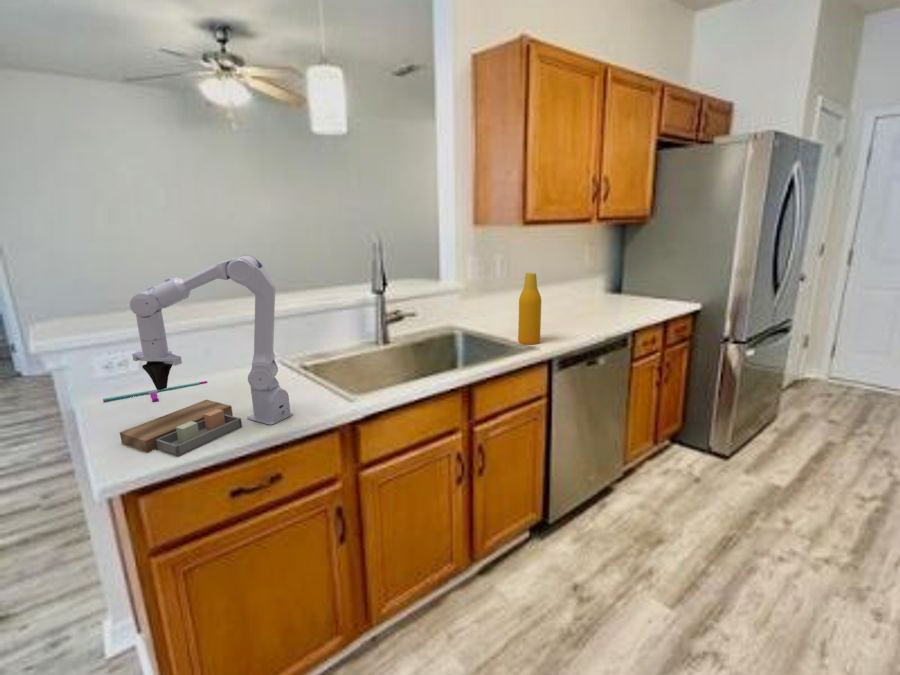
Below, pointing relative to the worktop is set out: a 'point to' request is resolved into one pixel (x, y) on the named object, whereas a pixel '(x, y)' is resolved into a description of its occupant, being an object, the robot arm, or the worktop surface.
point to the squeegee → (152, 392)
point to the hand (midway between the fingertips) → (161, 388)
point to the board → (168, 424)
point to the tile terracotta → (214, 419)
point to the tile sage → (187, 431)
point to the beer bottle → (529, 312)
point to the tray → (205, 436)
